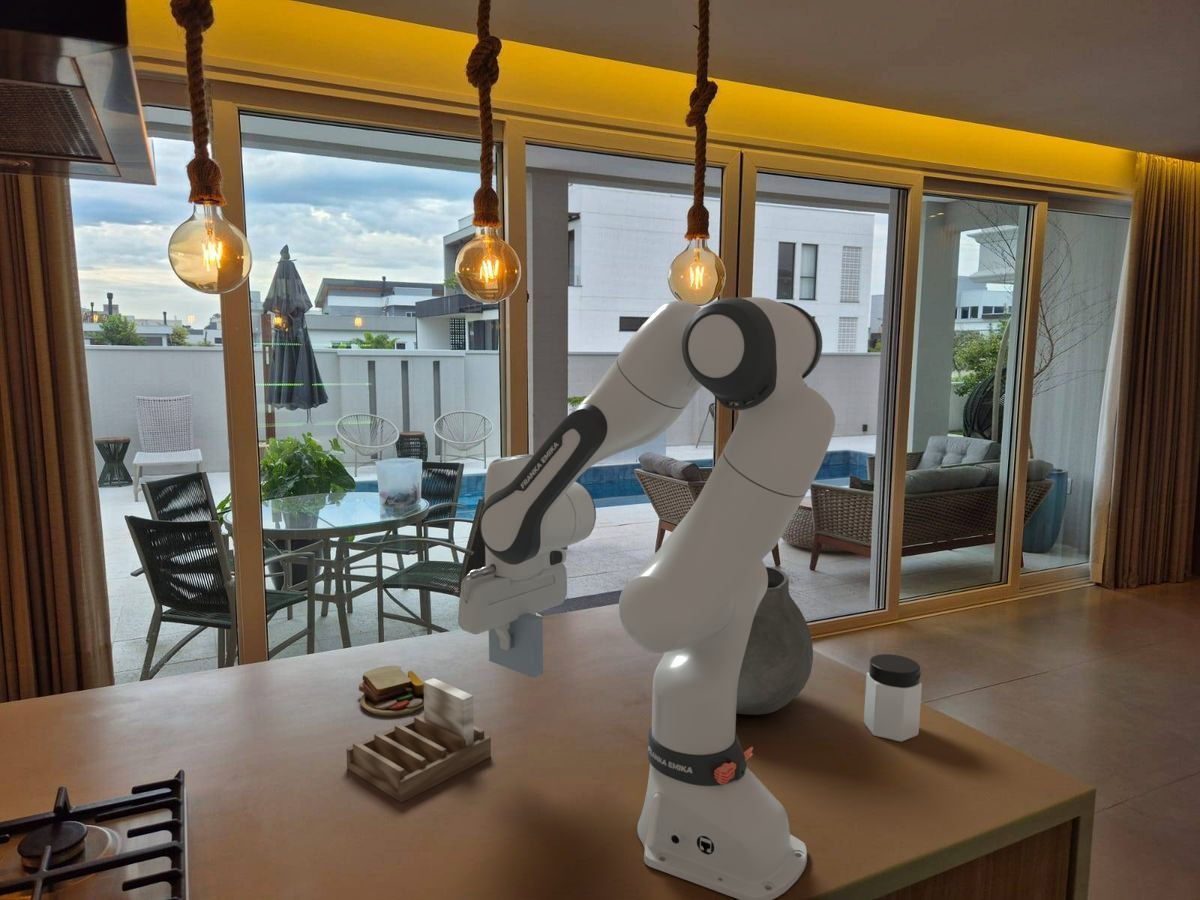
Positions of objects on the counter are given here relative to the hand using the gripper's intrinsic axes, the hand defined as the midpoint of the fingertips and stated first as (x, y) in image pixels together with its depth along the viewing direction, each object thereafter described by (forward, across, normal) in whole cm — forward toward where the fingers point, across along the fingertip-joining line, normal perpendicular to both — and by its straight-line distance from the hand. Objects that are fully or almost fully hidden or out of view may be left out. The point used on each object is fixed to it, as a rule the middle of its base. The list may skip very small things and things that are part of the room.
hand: (515, 645), depth 122 cm
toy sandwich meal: (+19, -1, +31) cm, 37 cm away
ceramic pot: (+19, +40, -18) cm, 48 cm away
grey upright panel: (+4, 0, 0) cm, 4 cm away
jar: (+19, +49, -42) cm, 67 cm away
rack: (+18, -11, +10) cm, 24 cm away
